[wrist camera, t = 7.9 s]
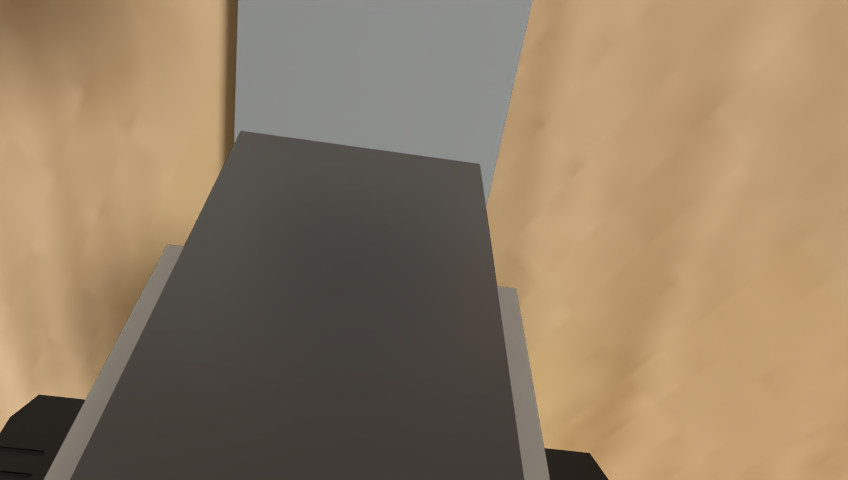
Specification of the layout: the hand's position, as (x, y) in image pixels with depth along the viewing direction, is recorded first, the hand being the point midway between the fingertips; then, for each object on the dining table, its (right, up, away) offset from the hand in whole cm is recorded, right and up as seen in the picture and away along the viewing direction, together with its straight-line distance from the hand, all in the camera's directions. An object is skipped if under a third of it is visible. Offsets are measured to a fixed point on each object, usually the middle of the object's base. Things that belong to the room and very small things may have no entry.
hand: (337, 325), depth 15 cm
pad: (0, +7, +11) cm, 13 cm away
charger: (0, +1, +2) cm, 3 cm away
